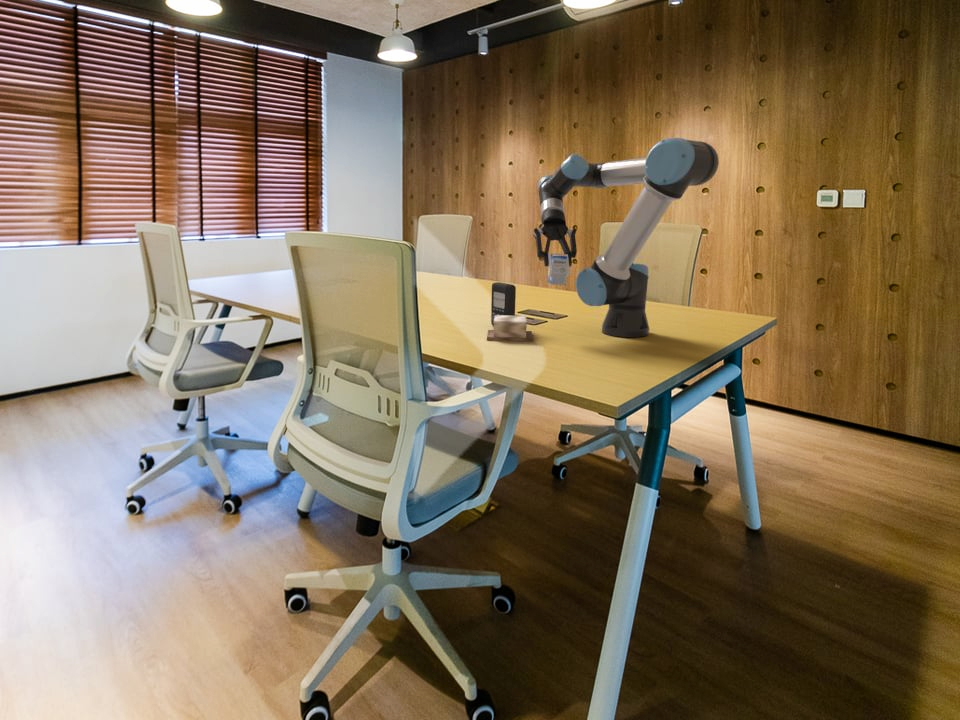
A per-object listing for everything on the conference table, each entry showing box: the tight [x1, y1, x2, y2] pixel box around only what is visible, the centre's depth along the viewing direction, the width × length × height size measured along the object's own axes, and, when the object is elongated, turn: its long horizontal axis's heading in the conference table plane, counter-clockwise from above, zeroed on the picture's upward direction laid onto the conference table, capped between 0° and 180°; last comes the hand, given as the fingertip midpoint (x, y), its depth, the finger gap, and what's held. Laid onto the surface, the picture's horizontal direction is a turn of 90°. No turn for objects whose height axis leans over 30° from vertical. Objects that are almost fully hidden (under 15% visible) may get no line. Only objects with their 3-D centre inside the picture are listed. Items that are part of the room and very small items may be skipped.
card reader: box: [490, 281, 517, 327], centre depth 203 cm, size 9×4×15 cm, turn 37°
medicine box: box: [547, 253, 567, 286], centre depth 185 cm, size 8×4×9 cm, turn 3°
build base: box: [486, 315, 534, 343], centre depth 190 cm, size 14×11×6 cm
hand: (559, 273), depth 181 cm, fingers closed on medicine box, 4 cm apart
